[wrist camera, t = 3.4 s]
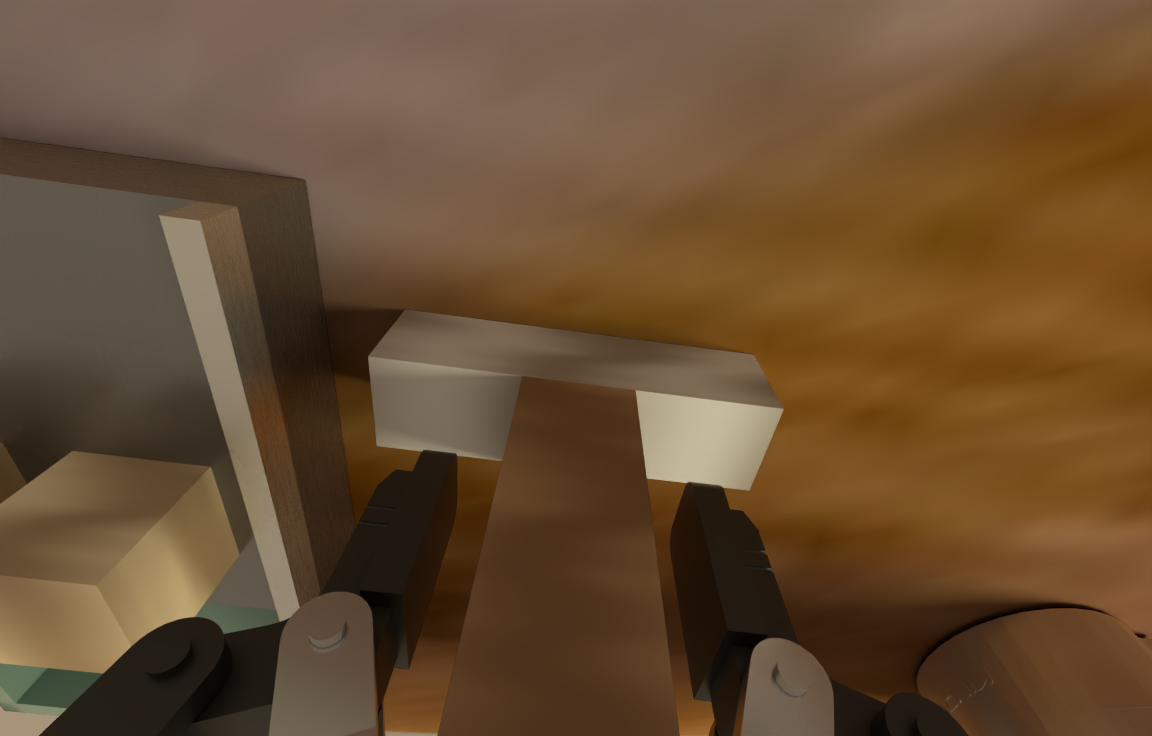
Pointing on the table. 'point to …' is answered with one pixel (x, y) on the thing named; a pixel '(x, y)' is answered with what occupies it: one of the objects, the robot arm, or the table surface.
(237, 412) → the open box
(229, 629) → the chip tray
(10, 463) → the maple cube
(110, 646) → the maple cube
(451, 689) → the rake tool
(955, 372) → the table surface
